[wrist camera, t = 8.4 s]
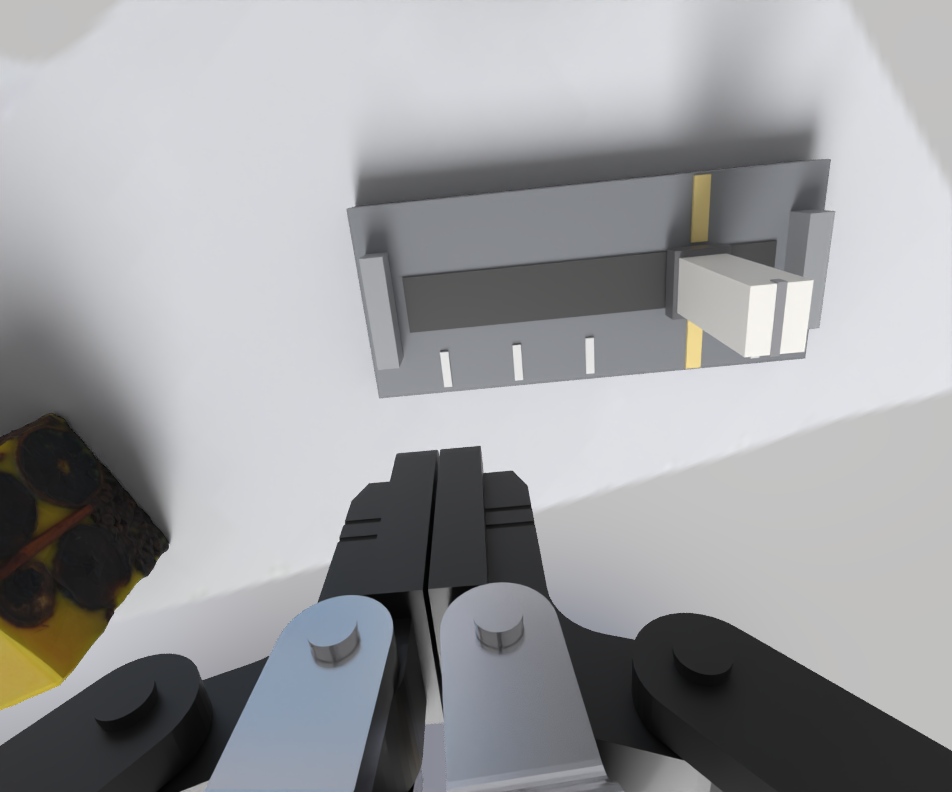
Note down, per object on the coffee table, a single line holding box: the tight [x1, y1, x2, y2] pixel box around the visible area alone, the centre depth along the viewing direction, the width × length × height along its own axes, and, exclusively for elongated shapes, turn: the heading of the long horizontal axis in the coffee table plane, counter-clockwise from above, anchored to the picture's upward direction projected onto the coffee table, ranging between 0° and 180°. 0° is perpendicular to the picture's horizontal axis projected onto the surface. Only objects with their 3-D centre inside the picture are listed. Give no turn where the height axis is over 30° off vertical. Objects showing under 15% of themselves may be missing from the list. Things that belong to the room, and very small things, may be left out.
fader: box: [665, 243, 814, 357], centre depth 22 cm, size 3×2×8 cm
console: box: [347, 159, 835, 398], centre depth 26 cm, size 9×21×4 cm, turn 96°
